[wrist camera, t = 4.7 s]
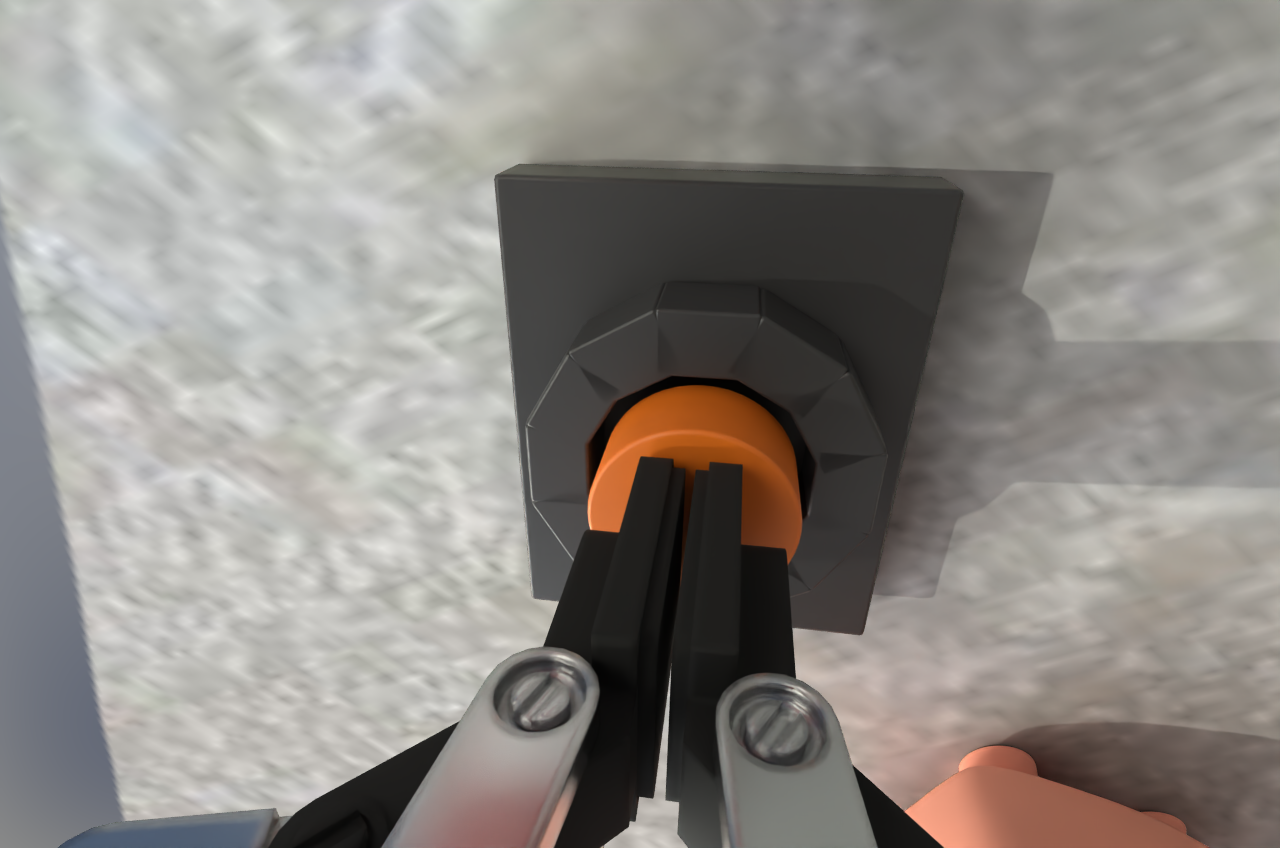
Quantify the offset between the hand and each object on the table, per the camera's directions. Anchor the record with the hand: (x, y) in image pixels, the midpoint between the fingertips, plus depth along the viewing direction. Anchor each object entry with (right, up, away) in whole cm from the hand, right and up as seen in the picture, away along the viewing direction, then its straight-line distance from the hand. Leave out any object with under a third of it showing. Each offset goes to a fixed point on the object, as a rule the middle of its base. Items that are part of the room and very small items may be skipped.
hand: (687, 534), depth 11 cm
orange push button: (0, +1, +1) cm, 2 cm away
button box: (+1, +2, +4) cm, 5 cm away
